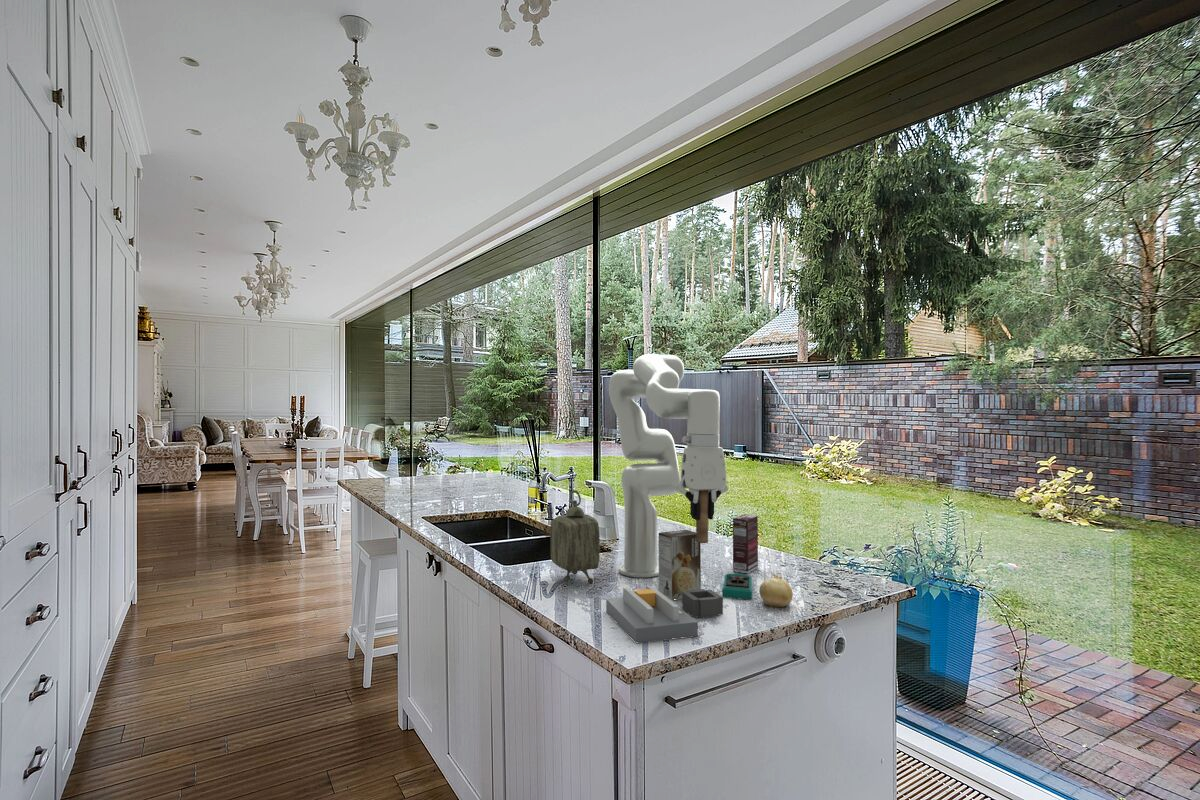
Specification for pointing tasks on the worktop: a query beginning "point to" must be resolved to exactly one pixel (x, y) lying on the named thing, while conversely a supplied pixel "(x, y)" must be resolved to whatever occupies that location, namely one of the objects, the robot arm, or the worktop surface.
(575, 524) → the tabletop clock
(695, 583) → the coffee box
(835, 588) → the worktop surface
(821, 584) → the worktop surface
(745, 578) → the digital multimeter
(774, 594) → the onion
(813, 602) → the worktop surface
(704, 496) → the stylus
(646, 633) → the grey slider track base
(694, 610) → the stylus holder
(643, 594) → the breaker handle
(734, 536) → the supplement box
